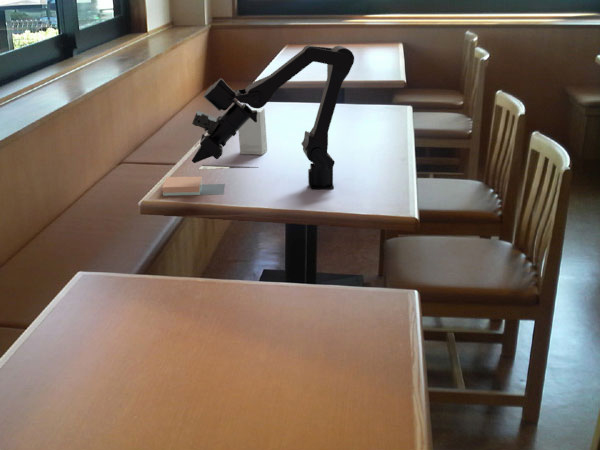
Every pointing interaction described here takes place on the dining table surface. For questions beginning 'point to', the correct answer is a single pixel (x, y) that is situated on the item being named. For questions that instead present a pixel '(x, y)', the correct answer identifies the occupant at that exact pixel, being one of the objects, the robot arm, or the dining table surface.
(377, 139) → the dining table surface
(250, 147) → the skincare box
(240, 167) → the chocolate bar
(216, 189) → the mat
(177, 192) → the tile
